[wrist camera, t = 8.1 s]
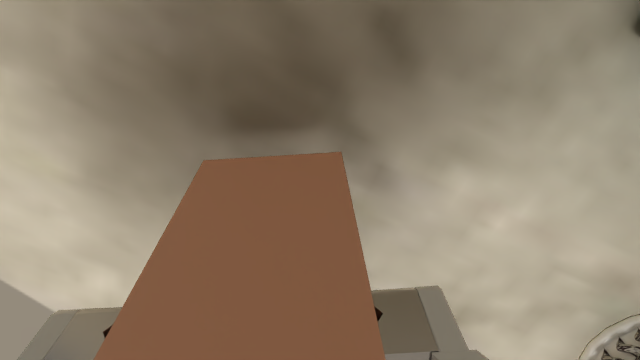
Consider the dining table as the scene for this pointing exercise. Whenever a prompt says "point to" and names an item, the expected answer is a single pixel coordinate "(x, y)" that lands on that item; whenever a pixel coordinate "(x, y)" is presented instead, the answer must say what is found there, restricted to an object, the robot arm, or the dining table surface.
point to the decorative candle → (616, 342)
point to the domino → (254, 270)
